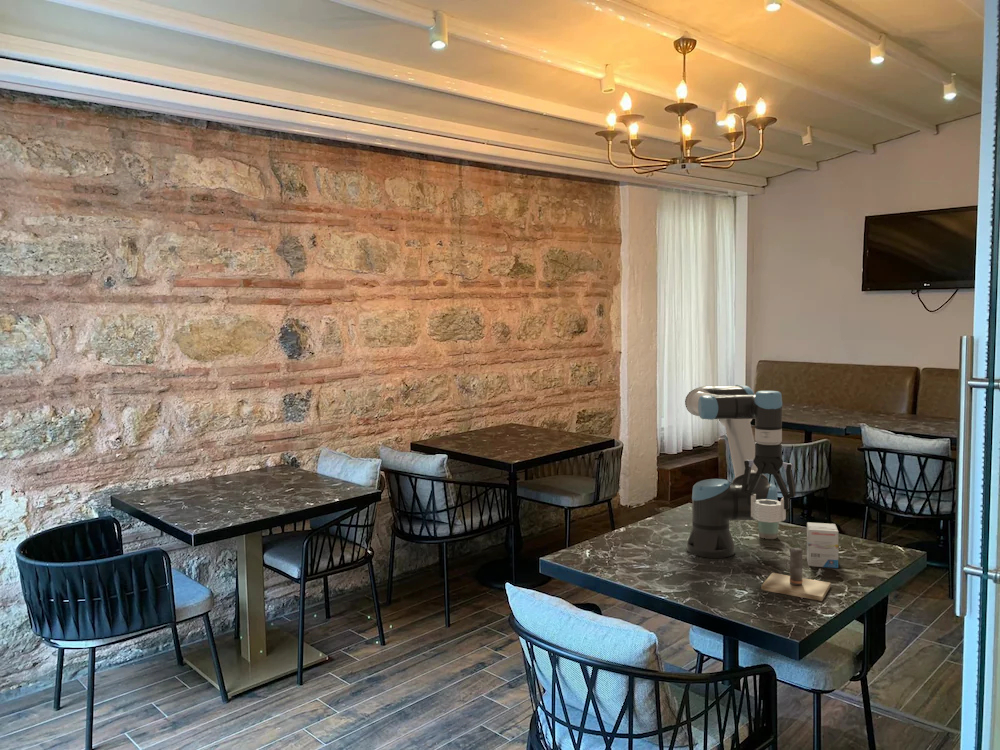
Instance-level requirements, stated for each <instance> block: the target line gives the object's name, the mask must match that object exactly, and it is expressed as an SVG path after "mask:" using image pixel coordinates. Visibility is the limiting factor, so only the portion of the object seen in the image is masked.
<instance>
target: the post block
mask: <svg viewBox="0 0 1000 750" xmlns="http://www.w3.org/2000/svg"><path fill="white" fill-rule="evenodd" d="M789 552H790V554H789V555H790V556H789V558H790V559H789V575H787V574H781V573H776V572H771V574H769V576H767V578H766V579H765V580H764V582H763V583H762V584H761V588H760V589H761V591H765V592H770V593H771V592H772V593H778V594H781V595H782V594H783V595H788V596H792V597H799V598H804V599H810V600H813V601H821V602H823V600H824V599H825V598H826V595H827V594H828V593H829V590H830V589H831V586H832V585H831V582H828V581H821V580H816V579H810V578H805V577H803V554H804V553H803V549H802V548H799V547H791V548H790V550H789Z"/></svg>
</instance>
